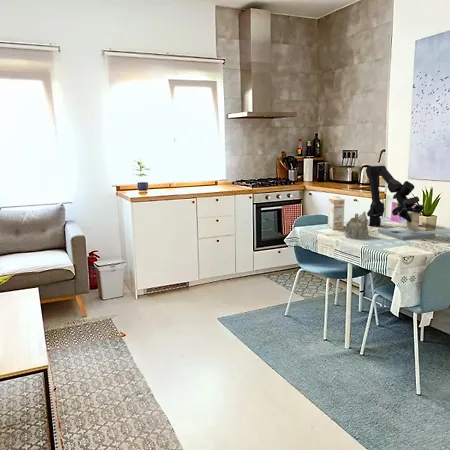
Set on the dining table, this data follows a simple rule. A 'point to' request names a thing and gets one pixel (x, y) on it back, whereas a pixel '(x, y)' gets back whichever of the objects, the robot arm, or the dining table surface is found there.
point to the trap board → (405, 233)
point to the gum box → (396, 217)
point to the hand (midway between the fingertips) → (414, 221)
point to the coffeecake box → (336, 213)
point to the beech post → (413, 221)
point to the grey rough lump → (357, 227)
